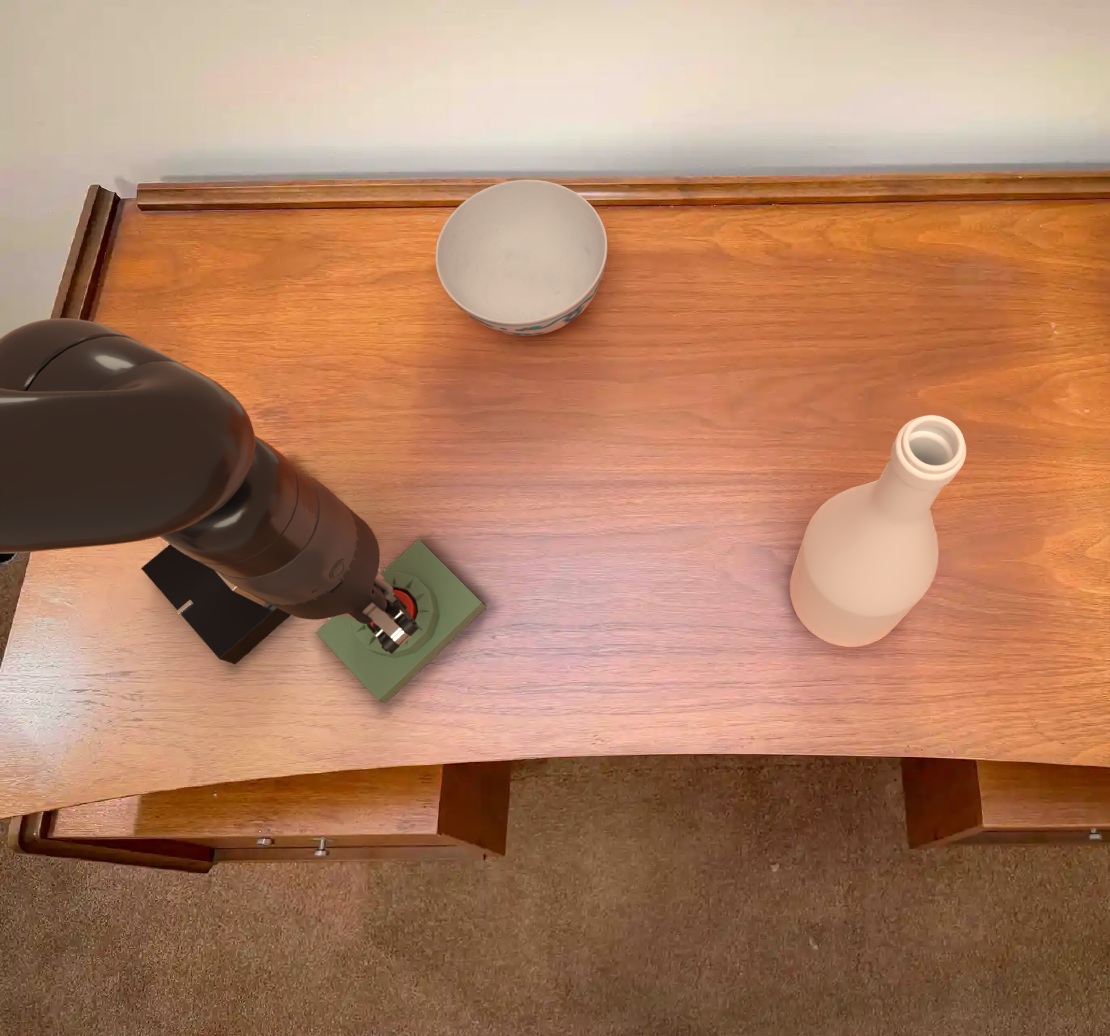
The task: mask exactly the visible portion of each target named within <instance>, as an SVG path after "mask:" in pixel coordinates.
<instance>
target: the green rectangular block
mask: <svg viewBox="0 0 1110 1036" xmlns="http://www.w3.org/2000/svg"><path fill="white" fill-rule="evenodd" d="M380 574H381V575H382V576H383V577H384V579H385V580H386V581H387V583H388V584H389V585H390V586H391V587H392V588H393V590H398V591H401V592H404V593H405V594H407V595H408V596H409V597H410V598H412V599H413V600H414V601H415V602H416V604H417V608H418V614H417V617H416V619H415V622H416V623H417V624H416V625H417V626H418V628H419V629H418V630H417V631H416V632H415V633H414V634H413V635H412V636H411V637H410V638H409V639H408V640H407V641H406V642H404V643H403V644H402V645H401V646H400V647H399V648H398V649H397V650H396V651H395V652H394V653H393V654H391V653H389V652H388V651H387V652H386V651H385V650H384V649H383V648H382V645H381V644H380V642H379V640H378V638H376V637H375V636H374V632H375V631H374V628H373V627H372V626H371V624H370V623H369V624H362V623H360V622H358V621H354V620H352V619H351V618H349V617H347V616H342V617H339V616H334V617H330V619H329V620H328V621H327V622H326V623H324V624H323V625H322V626H321V627H320V628H319V629H318V630H317V631H315V634H316V635H317V636H318V637H319V638H320V640H322V642H323V643H324V644H325V645H326V646H327V647H328V649H330V650H331V651H332V653H333V654H334V655H335V656H336V658H338V659H339V660H340V661H341V663H342V664H343V665H344V666H345V667H346V668H347V669H348V670H349V671H350V672H351V673H352V675H353V676H354V677H355V678H356V679H357V680H358V681H359V682H360V684H361V685H363V687H365V689H366V691H368V692H369V693H370V694H371V695H372V697H374V699H375V700H376V701H377V702H380V703H381V704H385V705H386V704H387V703H388V702H389V701H391V699H392V698H394V696H395V695H397V694H398V692H399V691H401V689H402V688H404V687H405V686H406V685H407V684H408V683H409V682H410V681H411V680H412V679H413V678H415V676H416V675H418V674H419V672H421V671H422V670H423V669H424V668H425V667H426V666H427V665H428V664H429V663H430V662H431V661H432V660H433V659H434V658H436V656H437V655H438V654H440V653H441V652H442V651H443V650H444V649H445V648H446V647H447V646H448V645H449V644H451V642H452V641H453V640H454V639H455V638H456V637H457V636H459V634H460V633H462V632H463V631H464V630H465V629H466V628H467V627H468V626H469V625H470V624H471V623H472V622H473V621H474V620H475V619H476V618H477V617H478V616H479V615H481V613H483V612H484V611H485V610H486V609H487V606H486V605H485V604H484V603H483V602H482V601H481V600H480V599H479V598H478V597H477V596H476V595H475V594H474V593H473V592H472V591H471V590H470V589H469V588H468V587H467V586H466V585H465V584H464V583H463V582H462V581H461V580H460V578H458V577H457V576H456V575H455V574H454V573H453V572H452V571H451V570H450V569H449V568H448V567H447V566H446V565H445V564H444V563H443V562H442V561H441V560H440V559H439V558H438V557H437V556H436V554H434V552H432V551H431V550H430V548H428V547H427V546H426V545H425V544H424V543H423V541H421V540H420V539H417V540H416V541H415V542H414V543H413V544H412V545H411V546H410V547H409V548H407V549H406V550H405V551H404V552H403V553H402V554H401V555H400V556H399V557H397V558H396V559H395V560H394V561H393V562H392V563H391V564H390V565H388V566H387V567H386V568H385V569H384V570H383V571H382V572H380Z"/></svg>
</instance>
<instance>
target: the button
mask: <svg viewBox="0 0 1110 1036" xmlns="http://www.w3.org/2000/svg"><path fill="white" fill-rule="evenodd" d="M392 592H393V593H394V594H395V595H396V596H397V597H398V598H399V599H400V600H401V601H402V602H403V603H404V604H405V605H406V607H407V609H406V610H407V611H408V612H409V613H410V615H411V617H412V618H413V620H414V621H415V619H416V617H417V614H418V608H417V604H416V602H415V601H414V600H413V599H412V598H410V597H409V596H408V595H407V594H405V593H404V592H401V591H398V590H392ZM373 623H374V622H372V623H370V624H371V626H372V624H373ZM372 627H373V626H372Z"/></svg>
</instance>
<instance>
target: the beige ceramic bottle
mask: <svg viewBox="0 0 1110 1036" xmlns="http://www.w3.org/2000/svg"><path fill="white" fill-rule="evenodd" d="M966 456H967V445H966V441H965V438H964V435H963V432H962V431H961V429H960V428H959V427H958V426H957V425H956V424H955V423H954V422H953V421H951V420H950V419H949V418H946V417H944V416H940V415H937V414H936V415H934V414H927V415H922V416H919V417H916V418H912V419H911V420H909V421H908V422H906V423H905V424H904V425H903V426H902V427H901V428H900V430H899V431H898V433H897V435H896V437H895V439H894V441H893V443H892V446H891V449H890V457H889V460H888V462H887V463H886V466H885V467H884V469H883V470H882V473H881V474H880V476H879V478H878V479H876V480H874V481H870V482H867V483H863V484H860V485H857V486H853V487H850V488H848V489H845V490H843V491H841V492H839V493H837V494H836V495H834V496H832V497H831V498H828V499H827V500H826V501H825V502H824V503H823V504H822V505H820V506H819V508H818V509H817V511H816V512H815V513H814V514H813V515H812V516H811V519H810V521H809V522H808V524H807V526H806V529H805V532H804V535H803V538H802V541H801V544H800V547H799V550H798V553H797V557H796V559H795V562H794V566H793V568H792V571H791V575H790V580H789V597H790V601H791V605H792V607H793V609H794V612H795V614H796V616H797V618H798V619H799V621H800V622H801V623H802V625H803V626H804V627H805V628H806V629H807V630H808V631H809V632H810V633H811V634H813V635H814V636H815V637H817V638H818V639H820V640H821V641H825V642H826V643H829V644H831V645H835V646H838V647H847V648H857V647H862V646H867V645H871V644H873V643H875V642H878V641H879V640H881V639H883V638H884V637H886V636H887V635H888V634H889V633H890V632H891V631H893V629H894V628H895V627H896V626H897V625H898V624H899V623H900V622H901V621H902V620H903V618H905V616H907V614H908V613H909V612H910V611H911V610H912V609H913V608H914V607H915V606H916V604H918V602H919V601H920V600H921V599H922V598H923V597H924V596H925V594H926V593H927V592H928V589H930V588H931V585H932V583H933V581H934V579H935V577H936V574H937V569H938V567H939V566H938V565H939V554H940V553H939V552H940V551H939V541H938V534H937V531H936V527H935V524H934V521H933V515H932V511H931V507H932V505H933V504H934V502H935V500H936V499H937V497H938V496H939V494H940V492H941V490H942V489H943V488H944V487H945V486H947V485H948V484H949V483H950V482H952V481H953V480H954V478H955V477H956V476H957V474H958V473H959V471H960V470H961V469H962V467H963V465H964V463H965V461H966Z"/></svg>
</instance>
